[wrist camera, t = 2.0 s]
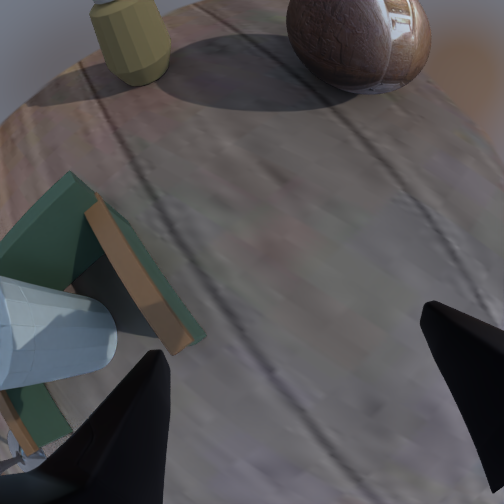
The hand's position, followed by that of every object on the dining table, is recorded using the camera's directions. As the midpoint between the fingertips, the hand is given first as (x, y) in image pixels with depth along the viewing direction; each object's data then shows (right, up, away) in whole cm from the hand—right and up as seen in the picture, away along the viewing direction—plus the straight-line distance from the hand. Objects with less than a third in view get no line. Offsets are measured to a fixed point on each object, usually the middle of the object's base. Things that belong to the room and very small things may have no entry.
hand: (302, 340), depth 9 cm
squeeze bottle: (-15, +25, +21) cm, 36 cm away
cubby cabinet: (-17, -5, +14) cm, 22 cm away
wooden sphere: (+9, +24, +20) cm, 33 cm away
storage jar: (-17, -5, +14) cm, 22 cm away
